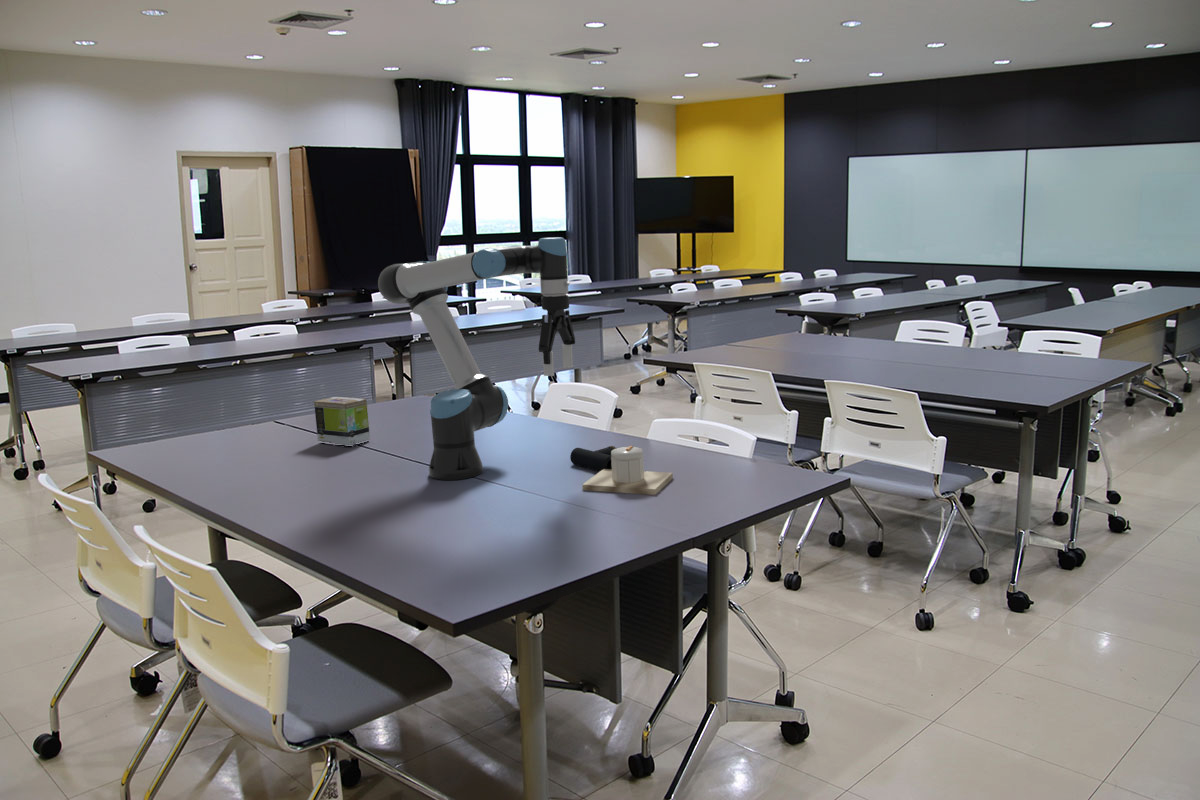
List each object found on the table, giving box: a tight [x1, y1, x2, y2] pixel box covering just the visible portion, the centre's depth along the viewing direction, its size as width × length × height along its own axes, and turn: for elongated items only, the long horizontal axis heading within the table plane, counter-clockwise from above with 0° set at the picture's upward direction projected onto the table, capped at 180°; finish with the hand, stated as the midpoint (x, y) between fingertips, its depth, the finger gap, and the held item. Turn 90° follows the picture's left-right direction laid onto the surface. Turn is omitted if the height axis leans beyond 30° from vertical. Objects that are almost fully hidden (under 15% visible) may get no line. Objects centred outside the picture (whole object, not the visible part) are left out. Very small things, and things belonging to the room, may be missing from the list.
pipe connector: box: [569, 445, 617, 472], centre depth 275 cm, size 12×5×15 cm
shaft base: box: [582, 469, 674, 496], centre depth 254 cm, size 20×16×6 cm
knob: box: [611, 445, 645, 483], centre depth 254 cm, size 8×8×8 cm
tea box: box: [313, 396, 371, 445], centre depth 316 cm, size 15×10×15 cm, turn 58°
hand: (558, 371), depth 265 cm, fingers open, 13 cm apart
